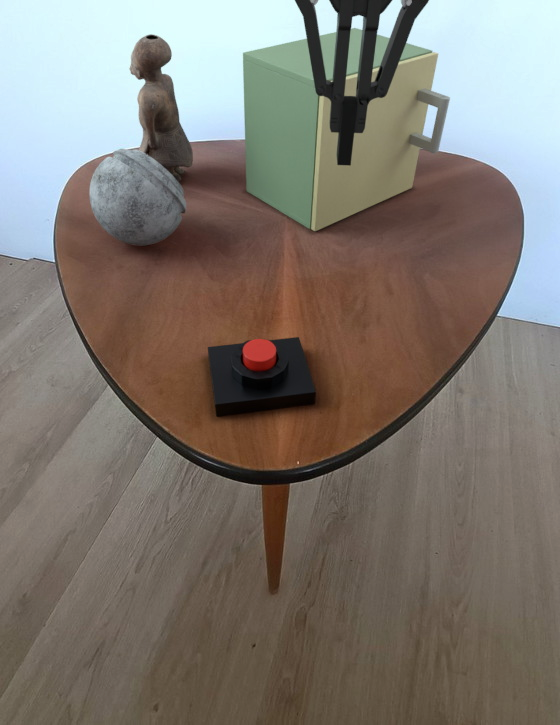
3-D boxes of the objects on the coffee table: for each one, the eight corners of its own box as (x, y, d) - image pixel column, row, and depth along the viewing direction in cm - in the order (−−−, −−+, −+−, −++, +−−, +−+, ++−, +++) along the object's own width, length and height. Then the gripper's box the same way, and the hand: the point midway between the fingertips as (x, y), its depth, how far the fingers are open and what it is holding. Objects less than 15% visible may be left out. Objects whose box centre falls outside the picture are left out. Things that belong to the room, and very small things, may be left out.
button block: (298, 349, 74) (299, 326, 71) (315, 404, 67) (317, 381, 64) (208, 359, 72) (206, 336, 70) (216, 416, 65) (214, 393, 63)
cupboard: (407, 186, 108) (432, 50, 92) (309, 229, 96) (319, 82, 79) (342, 155, 118) (354, 27, 101) (246, 191, 106) (242, 52, 89)
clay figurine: (153, 162, 114) (132, 24, 97) (200, 164, 114) (188, 26, 96) (135, 191, 105) (109, 44, 87) (187, 195, 104) (171, 47, 87)
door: (436, 199, 105) (467, 61, 88) (338, 246, 92) (354, 96, 76) (408, 185, 108) (433, 51, 92) (310, 229, 96) (320, 83, 79)
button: (273, 347, 69) (273, 336, 68) (278, 369, 66) (278, 359, 65) (241, 351, 68) (240, 340, 67) (245, 373, 66) (245, 363, 64)
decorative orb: (206, 238, 94) (198, 151, 83) (137, 274, 86) (119, 183, 75) (151, 208, 100) (137, 124, 90) (82, 239, 93) (59, 151, 82)
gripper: (292, -111, 44) (285, 173, 60) (457, -107, 44) (404, 177, 60) (294, -118, 49) (287, 144, 66) (440, -114, 49) (396, 148, 66)
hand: (343, 159), depth 63 cm, fingers closed
